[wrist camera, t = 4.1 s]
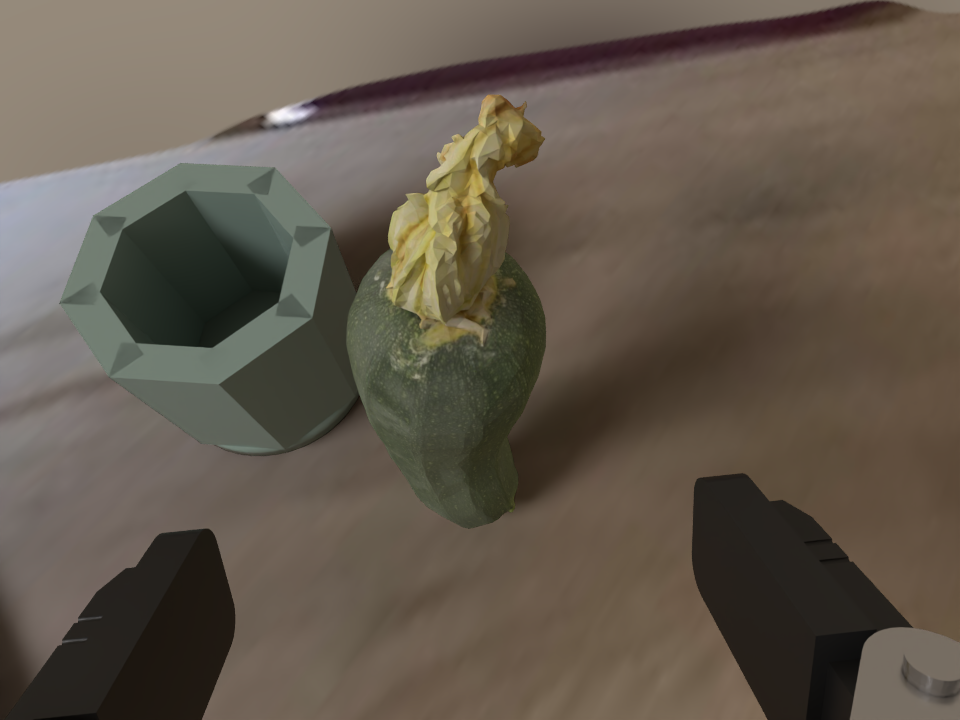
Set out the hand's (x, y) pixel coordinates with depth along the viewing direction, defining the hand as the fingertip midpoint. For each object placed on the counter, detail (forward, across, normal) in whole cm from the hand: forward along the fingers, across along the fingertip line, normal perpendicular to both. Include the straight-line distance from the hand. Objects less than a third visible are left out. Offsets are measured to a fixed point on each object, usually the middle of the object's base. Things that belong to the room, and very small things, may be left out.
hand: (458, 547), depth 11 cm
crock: (+19, +8, +3) cm, 21 cm away
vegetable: (+14, 0, +8) cm, 16 cm away
